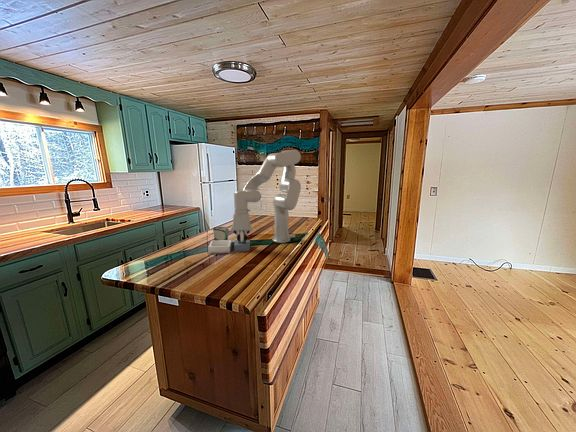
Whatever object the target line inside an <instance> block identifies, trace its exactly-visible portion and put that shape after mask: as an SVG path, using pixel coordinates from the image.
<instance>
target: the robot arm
mask: <svg viewBox="0 0 576 432" xmlns="http://www.w3.org/2000/svg"><path fill="white" fill-rule="evenodd" d="M301 155H302V154H301V153H300V151H299V150H297V149H287V150H286V149H285V150H282V151H280V152H274V153H273V152H272V153H269V154H268V155H267V156H266V158H265V159H264V161H263V162H262V164H261V166H260V168H259V170H258V171H257V173H256V174H254V175H253V176H252V177H251V178H250V179H249V180H248V182H247V183H246V184H245V186H244V188H243V189H241V190H235V191H234V192H233V200H234V201H233V202H234V205H233V206H234V213H233V216H232V226H231V228H230V229H229V232H231V233H234V234H235V235H236V239H237V240H238V242H240V240H239V231H241V230H245V242H246V240H248V234H250V233H251V232H253V231H254V229H253V227H252V225H251V218H250V212H251V209H249V207H248V203H253V204H254V203H255V204H256V203H258V202H259V201H261V199H262V194H261V192H260V191H258V188H259V187H260V186H261V185H264V184H265V183H267V182H269V181H270V180H271V178H272V176H273V174H274V173H275V172H276V170H277V168H282V169H283V170H282V174H281V178H280V182H279V185H278V187H279V190H280V191H281V192H282V193H278V194H276V195H275V196H274V197H273V199H272V204H273V210H274V212H273V213H274V236H273V237H272V242H274V243H281V244H284V243H289V242H290V241H291V239H292V238H296V234H293V233H292V234H291V233H289V219H290V217H289V216H290V215H289V211H293V210H294V209H295V208H296V206H297V205H298V202H299V197H300V194H301V189H302V186H301V183H300V181H299V179H296V174H297V173H296V172H297V170H296V166H295V165H296V164H298V163H299V162H300V161H301V157H302V156H301ZM283 193H284V194H283ZM285 193H286V194H285Z"/></svg>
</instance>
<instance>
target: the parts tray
mask: <svg viewBox="0 0 576 432" xmlns="http://www.w3.org/2000/svg"><path fill="white" fill-rule="evenodd" d="M231 250H232V240H231V239H228V240H218V241H215V240H211V241H210V243H209V245H208V247H207V251H208V253H207V254H209V255H211V254H230V253H231Z"/></svg>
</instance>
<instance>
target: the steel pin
mask: <svg viewBox="0 0 576 432" xmlns="http://www.w3.org/2000/svg"><path fill="white" fill-rule="evenodd" d="M239 240H240V244H245V230H241V231H239Z"/></svg>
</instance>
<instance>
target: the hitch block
mask: <svg viewBox="0 0 576 432" xmlns="http://www.w3.org/2000/svg"><path fill="white" fill-rule="evenodd" d="M250 241H251V240H250V239H247V240H246V242H245V244H240V242H238V240H234V244H233V246H234V252H236V253H237V252H249V251H251V242H250Z"/></svg>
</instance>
